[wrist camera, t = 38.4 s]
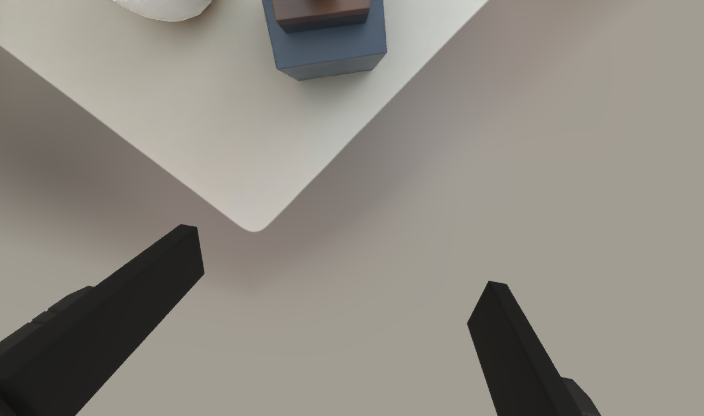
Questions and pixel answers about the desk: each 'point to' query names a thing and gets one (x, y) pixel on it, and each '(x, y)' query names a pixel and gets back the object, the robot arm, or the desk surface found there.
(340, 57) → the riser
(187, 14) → the cup
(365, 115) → the desk surface
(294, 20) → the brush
